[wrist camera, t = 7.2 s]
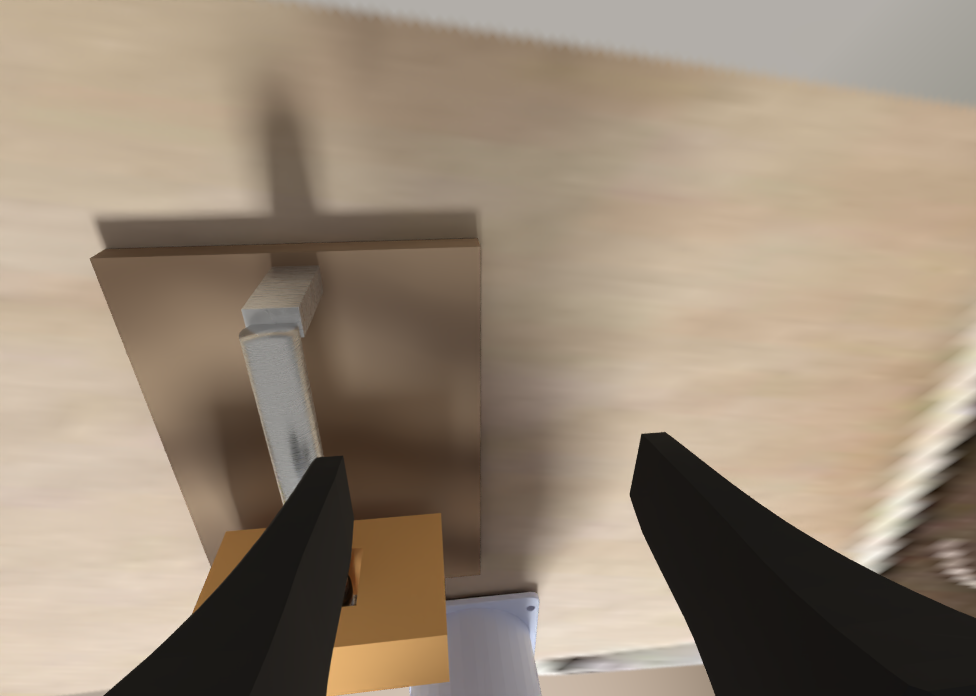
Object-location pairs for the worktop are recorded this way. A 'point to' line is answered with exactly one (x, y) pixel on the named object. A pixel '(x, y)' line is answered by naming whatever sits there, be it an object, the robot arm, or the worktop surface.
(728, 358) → the worktop surface
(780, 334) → the worktop surface
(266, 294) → the metal rod
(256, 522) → the walnut board
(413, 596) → the collar
